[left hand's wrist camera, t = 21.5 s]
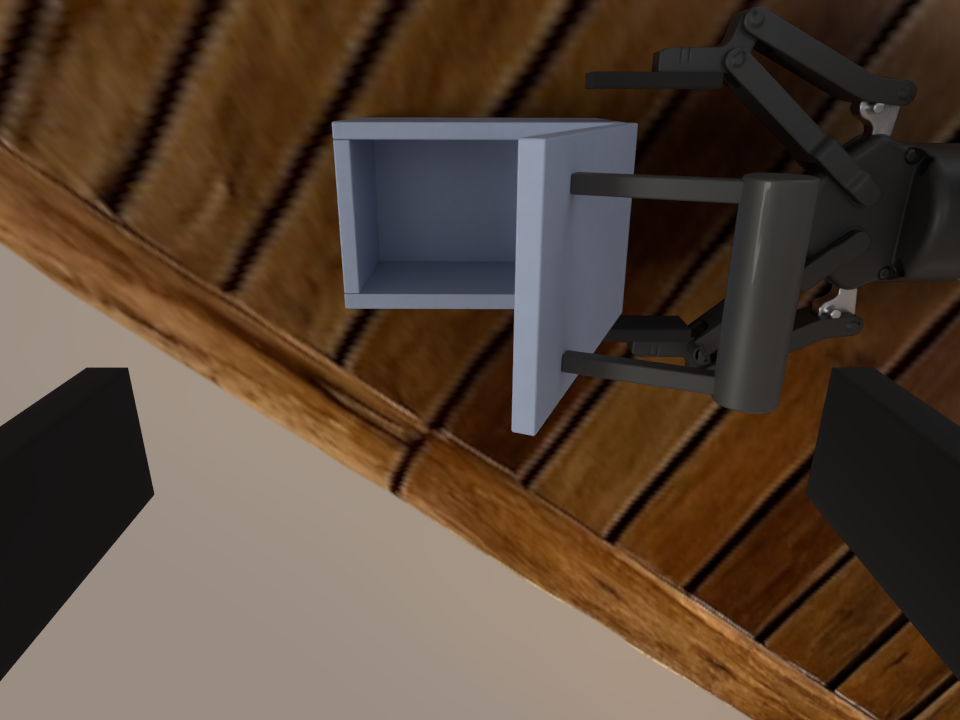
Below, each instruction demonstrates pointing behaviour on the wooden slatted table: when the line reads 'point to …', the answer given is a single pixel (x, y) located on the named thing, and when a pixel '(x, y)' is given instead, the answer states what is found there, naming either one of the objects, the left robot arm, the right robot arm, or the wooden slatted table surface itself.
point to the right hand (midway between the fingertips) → (580, 212)
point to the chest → (432, 208)
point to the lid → (602, 264)
